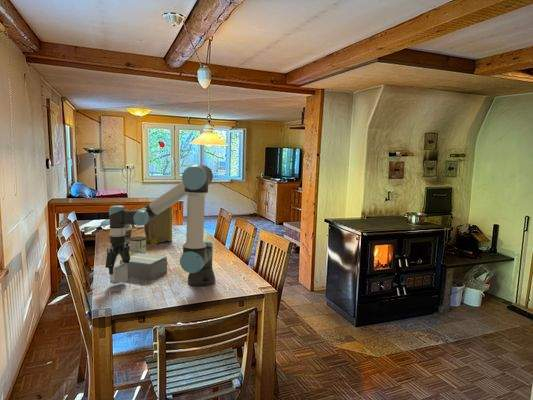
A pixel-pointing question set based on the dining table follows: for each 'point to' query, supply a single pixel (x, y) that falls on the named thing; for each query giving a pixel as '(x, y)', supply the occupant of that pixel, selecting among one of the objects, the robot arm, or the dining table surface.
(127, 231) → the apothecary jar
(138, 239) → the coffee can
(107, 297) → the dining table surface
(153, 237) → the decorative book
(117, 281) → the medicine box
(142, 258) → the lid
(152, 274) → the crate
